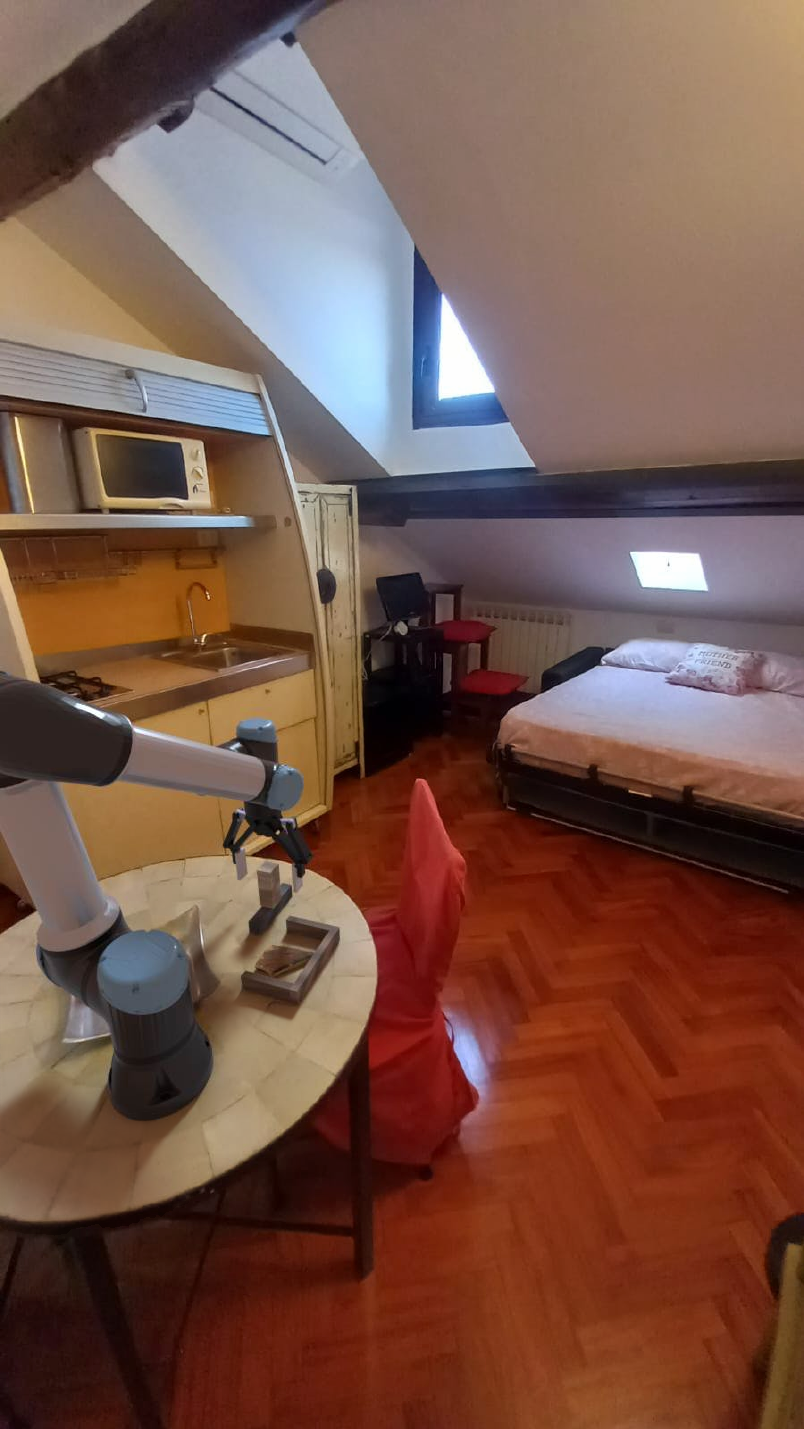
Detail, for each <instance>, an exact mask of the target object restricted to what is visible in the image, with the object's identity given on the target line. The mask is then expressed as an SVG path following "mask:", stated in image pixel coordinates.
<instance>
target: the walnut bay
mask: <svg viewBox="0 0 804 1429" xmlns="http://www.w3.org/2000/svg"><path fill="white" fill-rule="evenodd" d="M285 927H286V932H287V933H290V934H295V935H297V936H303V937H307V938H311V939H315V940H319V941H321V943H320V944H319V945H318V947H317V948H316V950H315V951H314V952H315V953H314V954H313V956H312V957H311V959H310V960H309V962H308V963H306V964H305V966H304V968H303V969H302V971H301V972H300V973H299V975H298V976H297V978H296V979H295V981H294V982H289V981H286V980H282V979H279V978H276V977H275V978H271V976H269V975H268V976H267V975H264V974H260V973H256V972H253V971H248V970H244V971H243V973H242V974H241V975H240V981H241V982H240V983H241V990H244V991H246V992H247V991H248V992H251V993H255V994H258V995H262V996H265V997H269V998H272V999H276V1000H279V1001H283V1002H286V1003H290V1004H293V1005H297V1006H299V1004H300V1003H301V1002H302V999H304V997H305V995H306V993H307V992H308V990H309V989H310V987H311V986H312V984H313V982H314V980H315V979H316V978H317V977H318V975H319V973H320V971H321V970H322V968H324V965H325V963H326V962H327V961H328V959H329V957H330V956H331V954H332V953H333V951H334V949H335V948H336V947H337V945H338V943H339V942H340V940H341V932H340V931H341V930H340V927H339V926H335V925H332V924H328V923H323V922H320V921H315V920H310V919H306V918H302V917H297V916H293V915H288V917H286V919H285Z"/></svg>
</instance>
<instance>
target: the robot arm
mask: <svg viewBox="0 0 804 1429" xmlns="http://www.w3.org/2000/svg"><path fill="white" fill-rule="evenodd" d="M235 736H236V737H234V738H232V739H230V740H229V741H226V742H223V743H221V744H218V745H216V746H213V745H210V744H206V743H202V742H199V741H195V740H190V739H187V738H183V737H179V736H175V735H172V734H168V733H164V732H162V731H161V732H159V731H156V730H154V729H153V730H152V729H148V728H145V727H141V726H137V725H133V724H132V722H131V720H130V719H129V717H127V716H126V715H124V714H122V713H118V712H115V711H111V710H108V709H106V708H102V707H100V706H97V705H94V704H92V703H89V702H88V701H85V700H82V699H80V698H78V697H76V696H74V695H72V694H69V693H67V692H66V691H63V690H62V689H61V690H60V689H58V688H56V687H54V686H51V685H48V684H45V683H41V682H39V681H35V680H30V679H27V678H22V677H18V676H15V675H13V674H11V673H9V672H6V671H4V670H0V833H1V835H2V836H3V837H2V838H3V839H4V841H5V843H6V846H7V847H8V850H9V852H10V854H11V856H12V858H13V860H14V863H15V864H16V868H17V870H18V872H19V874H20V877H21V879H22V880H23V883H24V884H25V887H26V889H27V892H28V894H29V896H30V898H31V900H32V902H33V904H34V907H35V908H36V912H37V913H38V915H39V917H40V920H41V923H40V925H39V927H38V929H37V932H36V939H37V944H36V947H35V948H36V950H35V954H36V962H37V964H38V967H39V968H40V970H41V971H42V973H43V974H44V975H45V977H46V978H47V979H48V980H49V981H50V982H51V983H52V984H54V985H55V986H57V987H58V988H62V989H63V990H64V991H66V993H67V992H68V993H69V994H70V995H71V996H72V997H74V998H75V999H76V1000H78V1001H80V1003H82V1004H84V1006H86V1007H87V1008H89V1009H90V1010H91V1011H93V1012H94V1013H96V1014H97V1015H98V1016H100V1017H101V1018H102V1019H103V1020H104V1021H105V1022H106V1024H107V1026H108V1030H109V1034H110V1037H111V1038H110V1039H111V1043H112V1048H113V1052H112V1056H111V1062H110V1068H109V1071H108V1075H107V1076H108V1077H107V1091H108V1093H109V1097H110V1102H111V1105H112V1106H113V1108H114V1109H115V1110H116V1112H118V1113H119V1114H120V1115H121V1116H123V1117H125V1118H128V1119H131V1120H135V1121H151V1120H156V1119H161V1118H164V1117H167V1116H169V1115H171V1114H174V1113H175V1112H177V1111H179V1110H181V1109H182V1108H184V1107H185V1106H187V1105H188V1104H189V1103H191V1102H192V1101H193V1100H194V1099H195V1098H196V1097H197V1096H198V1095H199V1094H200V1093H201V1092H202V1090H203V1089H204V1088H205V1086H206V1084H207V1083H208V1081H209V1079H210V1076H211V1074H212V1071H213V1065H214V1057H213V1056H214V1055H213V1048H212V1045H211V1041H210V1039H209V1037H208V1036H207V1033H205V1031H204V1029H203V1028H202V1027H201V1025H200V1024H199V1023H198V1021H197V1020H196V1016H195V1008H194V1003H193V995H192V989H191V988H192V987H191V981H190V966H189V961H188V960H187V956H186V954H185V950H184V948H183V946H182V944H181V943H180V941H179V939H178V938H176V937H175V936H174V935H172V934H171V933H168V932H166V931H164V930H160V929H152V928H151V929H150V930H149V931H146V929H137V930H132V929H131V928H130V927H129V925H128V924H127V921H126V919H125V916H124V914H123V911H122V909H121V905H120V904H119V902H118V900H117V898H115V897H114V896H113V895H111V894H107V893H103V890H102V888H101V886H100V882H99V880H98V877H97V875H96V872H95V870H94V867H93V864H92V862H91V859H90V857H89V854H88V851H87V849H86V847H85V844H84V841H83V839H82V836H81V834H80V831H79V828H78V825H77V822H76V820H75V818H74V815H73V813H72V810H71V807H70V806H69V805H70V804H69V803H68V799H67V797H66V794H65V793H64V789H63V787H62V785H61V783H67V784H75V785H83V786H92V787H100V788H102V787H108V786H111V785H113V784H114V783H116V782H119V783H127V784H132V785H139V786H145V787H152V788H157V789H165V790H170V791H171V790H172V791H176V792H184V793H189V794H196V795H197V796H202V797H206V796H209V797H214V798H215V797H216V798H222V799H228V800H234V801H240V802H243V807H238V808H237V809H236V810H235V811H234V812H232V813H231V814H232V815H231V816H232V818H231V824H230V827H229V829H228V831H227V834H226V835H225V838H224V841H223V843H222V848H223V849H225V850H226V849H229V850H230V852H231V856H232V863H233V865H235V868H236V878H237V880H238V881H242V880H243V879H244V878H245V877H246V876H247V875H248V866H247V864H248V863H247V857H246V855H247V854H246V847H242V846H243V845H244V844H245V842H246V841H248V839H249V838H250V837H251V836H252V835H253V833H255V834H256V836H263V837H266V838H272V840H273V842H277V843H278V845H279V846H280V847H281V848H282V850H283V851H284V852H285V853H286V855H287V856H288V857H289V858H290V860H292V862H293V863H292V865H291V873H292V876H291V877H292V892H293V893H295V894H297V893H298V892H299V891H300V890H301V888H302V887H303V886H304V884H303V883H304V882H303V877H304V876H305V874H306V865H308V864H309V863H310V861H311V860H312V859H314V855H313V853H312V851H311V848H310V847H309V845H308V844H307V841H306V839H305V837H304V836H303V834H302V831H301V830H300V828H299V825H298V821H297V817H296V816H292V817H291V818H284V817H283V813H282V812H287V811H290V810H292V809H294V807H295V806H296V805H297V804H299V802H300V800H301V797H302V794H303V792H304V790H305V782H304V777H303V775H302V773H301V772H300V771H299V770H298V769H296V768H294V767H291V766H289V765H287V764H281V763H279V751H278V748H279V747H278V742H279V740H278V737H277V730H276V725H275V723H274V722H273V721H272V720H269V719H267V718H261V717H259V718H258V717H256V718H249V719H244V720H242V721H240V722H239V723H238V724H237V725H236V732H235ZM244 820H245V821H246V823H247V825H248V827H247V828H246V830H244V832H243V833H242V835H241V836H240V837H239V838H238V839H237V840H236V838H237V835H238V833H239V831H240V828H241V827H242V823H243V821H244ZM278 832H279V833H278ZM277 833H278V834H277ZM235 840H236V841H235Z"/></svg>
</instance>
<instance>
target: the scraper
mask: <svg viewBox="0 0 804 1429" xmlns="http://www.w3.org/2000/svg"><path fill="white" fill-rule="evenodd" d="M256 876H257V886H258V896H259V897H258V898H259V906H260V907H259V908H258V910H257V911H256V912H255V913H254V914H253V915H252V917H251V918H250V919H249V920H248V930H249V931H248V932H249V934H251V935H256V936H261V935H262V934H263V932H264V931H265V930H266V929H267V927H268V926H269V925H270V924H271V922H272V921H274V919H275V918H276V917H277V915H278V914H279V913H280V912H281V911H282V909H283V908H284V907H285V906H286V904H287V903H288V902H289V901H290V899H291V898H292V897H293V884H288V883H284V882H282V883H281V878H280V877H281V876H280V864H279V863H277V862H271V861H268V860H265V861H264V862H263V863H262V864H261V865H260V866H259V867H258V868H257V869H256Z"/></svg>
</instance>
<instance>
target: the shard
mask: <svg viewBox="0 0 804 1429" xmlns="http://www.w3.org/2000/svg"><path fill="white" fill-rule="evenodd" d="M314 953H315V951H311V950H309V951H308V950H304V949H300V948H294V947H292V946H291V947H290V946H285V945H274V944H271V945H268V946H267V948H266V949H264V951H263V953H262V954H261V956H260V957H259V959H258V960H257V961H256V962H255V964H254V969H257V970H262V971H264V972H265V973H267V975H268V977H271V978H275V979H276V977H277V976H280V975H281V974H283V973H285V972H288V971H290V970H294V969H296V968H299V967H300V966H301V967H302V966H304V965H307V963H308V962H309V960H310V959H311V957H312V956H313V954H314Z"/></svg>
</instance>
